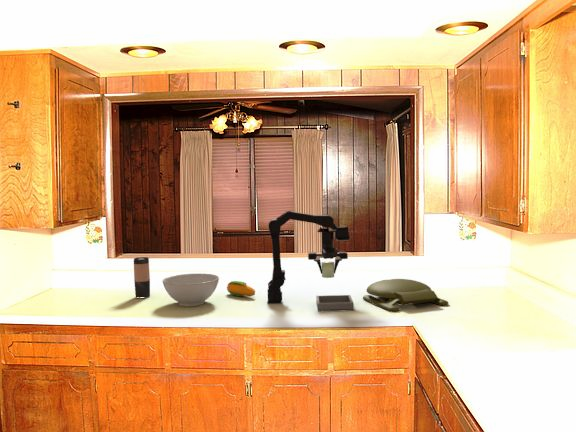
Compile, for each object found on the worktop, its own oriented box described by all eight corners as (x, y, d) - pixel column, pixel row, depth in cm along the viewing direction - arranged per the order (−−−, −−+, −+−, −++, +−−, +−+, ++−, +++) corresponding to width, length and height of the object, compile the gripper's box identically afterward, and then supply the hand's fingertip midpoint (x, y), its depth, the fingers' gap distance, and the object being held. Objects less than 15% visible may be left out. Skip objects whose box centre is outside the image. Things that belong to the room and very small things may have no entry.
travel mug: (153, 296, 297) (152, 257, 295) (142, 299, 290) (141, 259, 289) (142, 294, 301) (141, 256, 299) (131, 297, 294) (130, 258, 292)
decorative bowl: (209, 294, 297) (208, 271, 296) (227, 305, 273) (226, 280, 272) (157, 301, 285) (156, 277, 284) (172, 312, 261) (170, 286, 260)
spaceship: (450, 306, 262) (450, 285, 262) (391, 313, 252) (390, 291, 251) (409, 291, 295) (409, 272, 294) (355, 297, 285) (355, 277, 284)
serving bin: (317, 311, 257) (317, 303, 257) (316, 303, 273) (316, 295, 273) (353, 310, 257) (353, 302, 257) (350, 302, 273) (350, 295, 273)
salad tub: (322, 277, 275) (321, 263, 274) (321, 275, 281) (321, 261, 280) (334, 277, 275) (334, 263, 274) (333, 275, 281) (333, 261, 280)
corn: (233, 277, 301) (260, 282, 288) (234, 291, 302) (261, 297, 289) (222, 280, 296) (249, 285, 282) (224, 295, 297) (250, 300, 283)
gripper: (308, 243, 269) (309, 277, 270) (348, 243, 268) (349, 276, 270) (307, 240, 280) (308, 272, 281) (346, 240, 279) (346, 271, 281)
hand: (328, 273), depth 278 cm, fingers closed on salad tub, 6 cm apart
